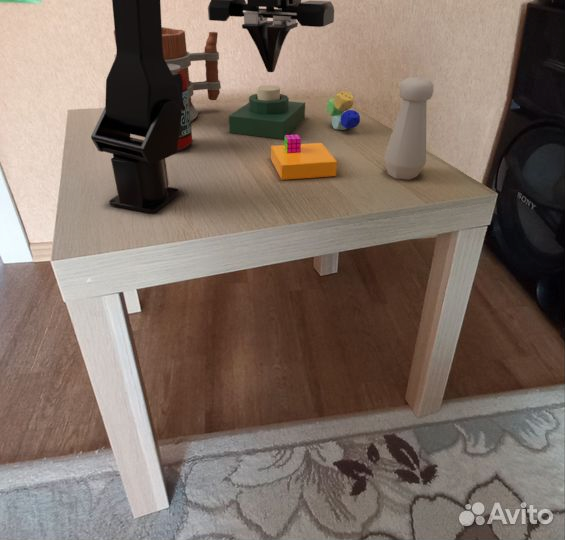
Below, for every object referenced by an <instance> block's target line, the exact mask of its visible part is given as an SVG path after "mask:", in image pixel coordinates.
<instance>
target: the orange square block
mask: <svg viewBox="0 0 565 540" xmlns="http://www.w3.org/2000/svg"><path fill="white" fill-rule="evenodd" d="M283 141H284V142H283V144H278V145H270V161H271V162H272V165H273V167H274V168H275V170H276V172H277V174H278V176H279V178H280V180H281V181H288V180H300V179H315V178H328V177H336V176H337V169H338V161H337V159H336V158H335V156H333V155H332V153H331V152H330V151H329V150H328V148H327V147H326V146H325V145H324V144H323V143H322V142H314V143H312V142H311V143H302V138H301V137H300V135H299V134H288V135H285V138H284V139H283Z"/></svg>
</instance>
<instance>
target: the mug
mask: <svg viewBox="0 0 565 540" xmlns="http://www.w3.org/2000/svg"><path fill="white" fill-rule="evenodd" d="M218 33H219V32H217V31H208V37H207V39H206V41H205V46H204V51H202V52H189V51H188V50H187V39H186V31H185V30H183V29H176V28H171V27H165V26H164V27H163V26H162V46H163V57H164V60H165V62H166V63H167V64H175V65H179V66H180V67H181V70H182V72H183V73H184V75H185V77H186V79H187V88H188V98H189V108H190V119H191V122H193V121H194V120H195V119H196V118H197V116H198V115H199V114H198V111H197V109H196V108H195V106H194V104H193V102H192V97H193V96H194V91H202V90H203V91H204V90H206V91H207V99H208V100H209V101H217V100H218V98H219V95H220V93H221V91H220V90H221V89H222V86H221V80H220V79H219V69H218V68H219V60H220V53H219V51H218V48H217V45H218V44H217V43H218ZM113 36H114V42H115V43H116V38H115V29H114V30H113ZM116 54H117V53H115V54H114V59H115V58H116ZM198 61H201V62H202V61H204V62H205V64H204V67H205V80H204V81H191V80H190V73H189V67H190V66H192V62H198Z"/></svg>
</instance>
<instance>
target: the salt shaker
mask: <svg viewBox="0 0 565 540" xmlns="http://www.w3.org/2000/svg"><path fill="white" fill-rule="evenodd" d="M398 94H399V95H398V96H399V98H401V99H402V101H401V104H400V107H399V111H398V113H397V117H396V120H395V123H394V125H393V129H392V131H391V135H390V138H389V141H388V144H387V147H386V150H385V153H384V157H383V158H384V159H383V160H384V165H385V168H386V173H387V175H389V176H391V177H392V178H394V179H395V180H396V179H397V180H407V181H409V180H412V179H414V178H417V177H418V175H420V173H421V171H422V170H423V168H424V167H425V165H426V163H427V107H428V106H427V103H428V102H427V101H429V100H431V99H432V97H433V94H434V83H433V82H432V81H431V80H430V79H427V78H424V77H415V76H413V77H406V78H404V79H403V80H402V81H401V82H400V86H399V93H398Z"/></svg>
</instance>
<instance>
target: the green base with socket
mask: <svg viewBox="0 0 565 540" xmlns="http://www.w3.org/2000/svg"><path fill="white" fill-rule="evenodd" d="M289 99H290V98H289V97H288V96H287V95H286V94H282V93H280V100H275V101H264V100H258V98H257V93H253V94H251V95H249V96H248V103H246V104H245V105H243V106H242V107H240V108H237V110H235V111H233V112H232V113H231V114H229V115H228V124H229V126H228V127H229V133H230V134H236V135H246V136H254V137H262V138H270V139H277V140H278V139H279V140H284V139H285V135H290V133H292V132H293V131H294V130H295V129H296V128H297V127H298V126H299V125H300V124H301V123H302V122H303V121H304V120H305V117H306V102H301V101H292V100H289Z"/></svg>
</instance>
